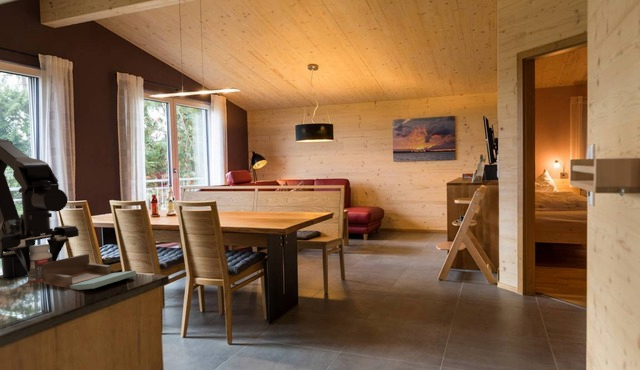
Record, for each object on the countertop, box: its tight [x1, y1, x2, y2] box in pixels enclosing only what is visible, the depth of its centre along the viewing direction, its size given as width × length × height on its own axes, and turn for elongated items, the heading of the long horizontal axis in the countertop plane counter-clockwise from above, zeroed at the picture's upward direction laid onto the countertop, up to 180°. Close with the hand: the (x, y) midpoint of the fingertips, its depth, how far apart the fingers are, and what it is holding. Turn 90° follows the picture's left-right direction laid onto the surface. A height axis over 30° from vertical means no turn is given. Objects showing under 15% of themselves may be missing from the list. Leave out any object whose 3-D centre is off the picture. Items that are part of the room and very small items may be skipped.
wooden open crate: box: [42, 253, 112, 289], centre depth 113 cm, size 10×12×6 cm
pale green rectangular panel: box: [69, 270, 137, 291], centre depth 108 cm, size 1×12×9 cm
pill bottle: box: [27, 243, 53, 284], centre depth 113 cm, size 6×6×10 cm
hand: (40, 268), depth 113 cm, fingers closed on pill bottle, 6 cm apart
